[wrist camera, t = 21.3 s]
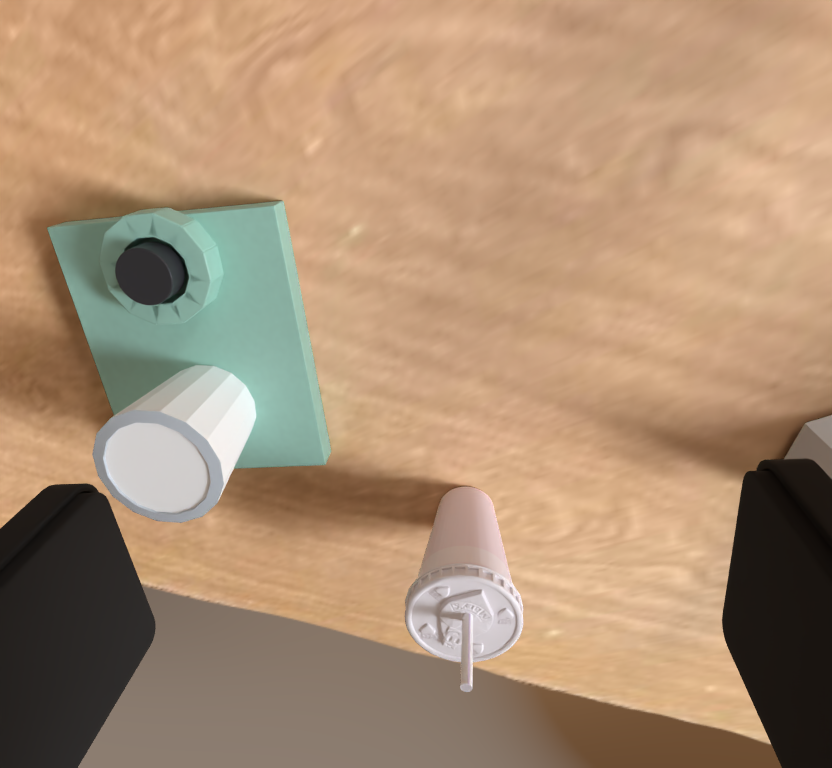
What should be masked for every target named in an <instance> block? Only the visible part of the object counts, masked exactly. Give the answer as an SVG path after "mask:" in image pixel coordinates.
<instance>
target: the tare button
mask: <svg viewBox="0 0 832 768" xmlns="http://www.w3.org/2000/svg"><path fill="white" fill-rule="evenodd" d="M115 274H116V279H117V282H118V284H119V286H120V288H121V289H122V291H123V292H124V293H125V294H126V295H127V296H128V297H129V298H130V299H132V300H134V301H135V302H137V303H140V304H143V305H157V304H160V303H162V302H164V301H165V300H167V299H168V298H170V297H172V296H173V295H175V294H176V293H177V292H179V291H180V289H181V288H182V286H183V284H184V280H185V270H184V266H183V263H182V261H181V259H180V258H179V256H178V255H177V254H176V253H175V252H174V251H173V250H172V249H171V248H169V247H168V246H166V245H164V244H162V243H158V242H145V243H142V244H140V245H137V246H135V247H133V248H130V249H128V250H126V251H125V252H123V253H122V254H121V255H120V257H119V258H118V260H117V263H116V267H115Z"/></svg>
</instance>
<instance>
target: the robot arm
mask: <svg viewBox="0 0 832 768" xmlns="http://www.w3.org/2000/svg"><path fill="white" fill-rule="evenodd" d="M722 625H723V632H724V637H725V641H726V643H727V646H728V649H729V651H730V653H731V655H732V657H733V660H734V662H735V664H736V666H737V668H738V671H739V673H740V675H741V677H742V680H743V682H744V684H745V686H746V688H747V691H748V693H749V695H750V697H751V700H752V702H753V704H754V706H755V708H756V711H757V713H758V715H759V717H760V720H761V722H762V724H763V726H764V728H765V731H766V733H767V735H768V737H769V740H770V742H771V744H772V746H773V748H774V751H775V753H776V755H777V757H778V760H779V762H780V764H781V766H782V768H832V479H831V478H830V477H829V476H828V475H827V473H826V472H825V471H824V470H823V469H822V468H821V467H820V466H819V465H818V464H817V463H816V462H815V461H814V460H812V459H808V458H803V459H775V460H763V461H761V462H760V463H759V465H758V467H757V470H756V471H748V472H747V473H746V474H745V476H744V479H743V483H742V490H741V497H740V503H739V510H738V516H737V523H736V530H735V536H734V543H733V550H732V556H731V563H730V569H729V576H728V583H727V589H726V596H725V603H724V609H723V617H722ZM154 634H155V620H154V616H153V614H152V611H151V609H150V606H149V604H148V601H147V599H146V596H145V593H144V591H143V588H142V586H141V583H140V580H139V578H138V575H137V573H136V570H135V568H134V565H133V562H132V560H131V557H130V555H129V552H128V550H127V547H126V545H125V542H124V539H123V537H122V534H121V532H120V529H119V527H118V524H117V522H116V519H115V516H114V514H113V511H112V509H111V506H110V504H109V501H108V499H107V498H106V496H105V495H104V494H102V493H99V492H98V490H97V489H96V488H95V487H94V486H93V485H90V484H60V485H51V486H48V487H47V488H45V489H44V490H42V491H41V492H40V493H39V494H38V495H37V496H36V497H35V498H34V499H32V500H31V501H30V502H29V503H28V504H27V505H26V506H25V507H24V508H23V509H21V510H20V511H19V512H18V513H17V514H16V515H15V516H14V517H13V518H12V519H10V520H9V521H8V522H7V523H6V524H5V525H4V526H3V527H2V528H1V529H0V768H78V766H79V764H80V763H81V761H82V759H83V758H84V756H85V754H86V753H87V750H88V749H89V747H90V746H91V744H92V743H93V741H94V739H95V737H96V736H97V734H98V732H99V731H100V729H101V727H102V726H103V724H104V722H105V721H106V719H107V717H108V716H109V714H110V712H111V710H112V709H113V707H114V706H115V704H116V702H117V700H118V699H119V697H120V696H121V694H122V692H123V691H124V689H125V687H126V685H127V684H128V682H129V680H130V679H131V677H132V675H133V674H134V672H135V670H136V669H137V667H138V665H139V664H140V662H141V660H142V658H143V657H144V655H145V653H146V652H147V650H148V649H149V647H150V645H151V643H152V641H153V638H154Z"/></svg>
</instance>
